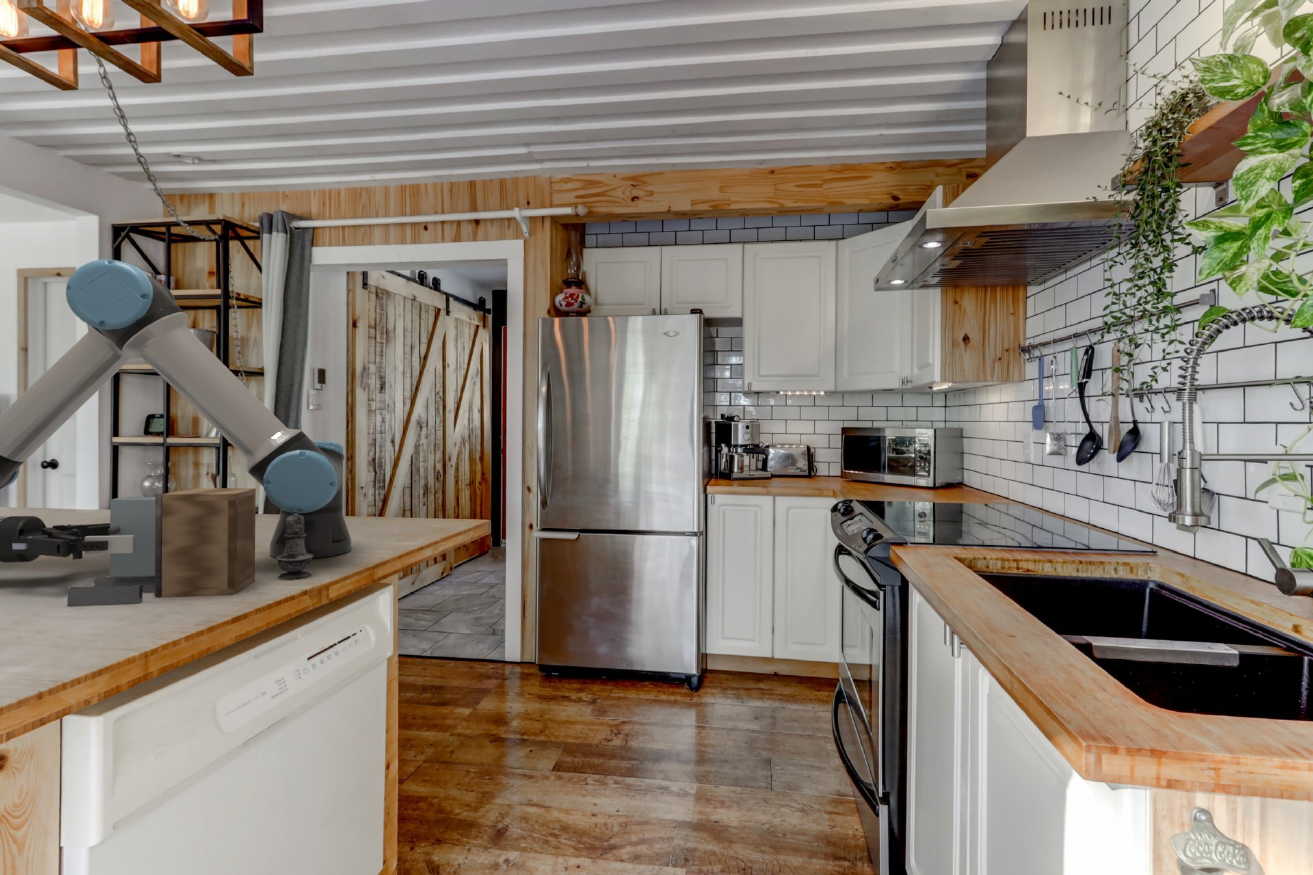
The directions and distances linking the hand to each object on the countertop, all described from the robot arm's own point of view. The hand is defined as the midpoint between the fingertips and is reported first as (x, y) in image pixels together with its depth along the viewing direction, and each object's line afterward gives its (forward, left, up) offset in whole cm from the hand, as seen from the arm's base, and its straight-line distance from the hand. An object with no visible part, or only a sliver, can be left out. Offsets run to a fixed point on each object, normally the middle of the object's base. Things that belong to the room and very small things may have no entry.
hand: (155, 536), depth 111 cm
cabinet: (-9, +11, -7) cm, 16 cm away
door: (+2, 0, -7) cm, 8 cm away
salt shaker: (-21, +7, -8) cm, 23 cm away
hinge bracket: (+3, +12, -7) cm, 14 cm away
